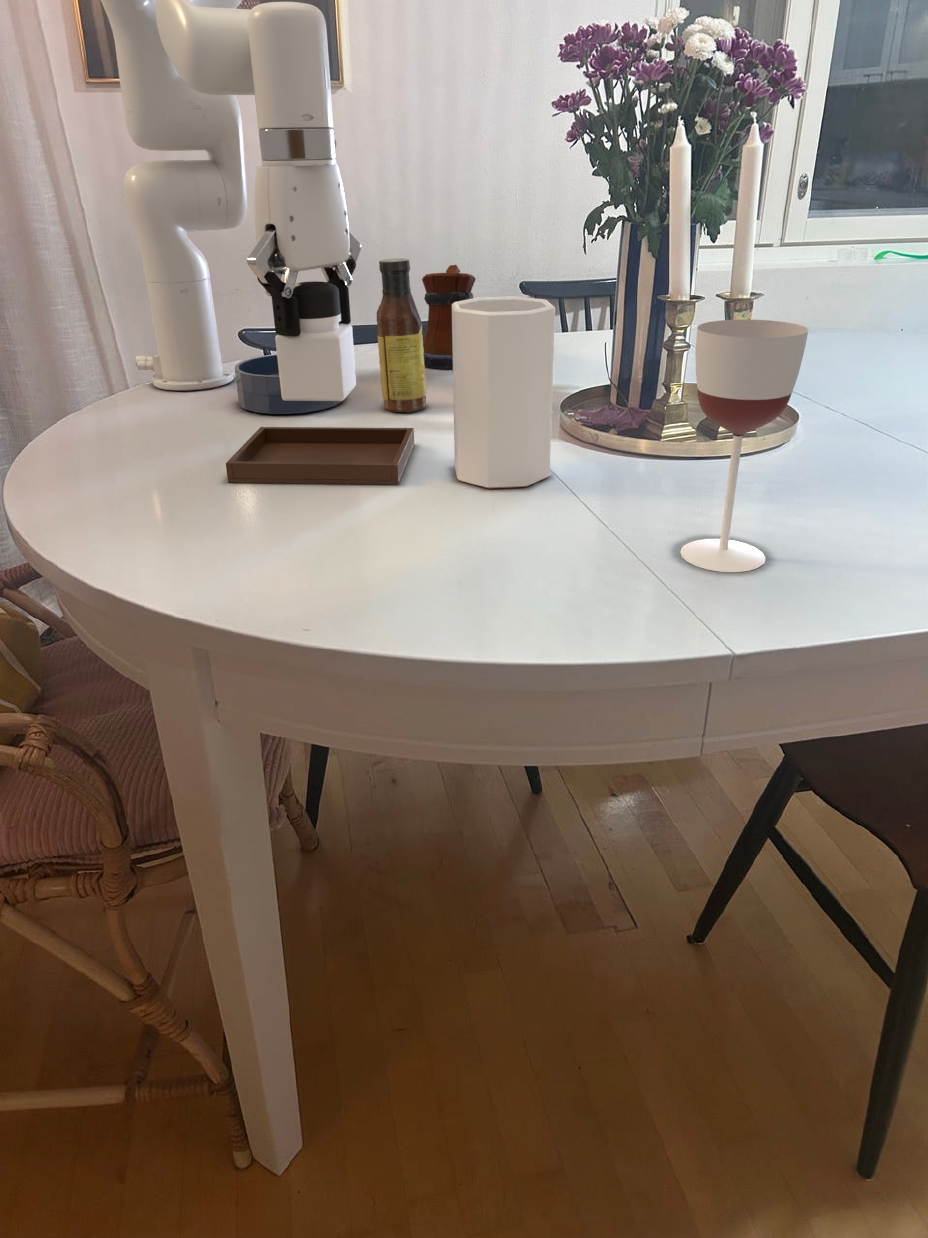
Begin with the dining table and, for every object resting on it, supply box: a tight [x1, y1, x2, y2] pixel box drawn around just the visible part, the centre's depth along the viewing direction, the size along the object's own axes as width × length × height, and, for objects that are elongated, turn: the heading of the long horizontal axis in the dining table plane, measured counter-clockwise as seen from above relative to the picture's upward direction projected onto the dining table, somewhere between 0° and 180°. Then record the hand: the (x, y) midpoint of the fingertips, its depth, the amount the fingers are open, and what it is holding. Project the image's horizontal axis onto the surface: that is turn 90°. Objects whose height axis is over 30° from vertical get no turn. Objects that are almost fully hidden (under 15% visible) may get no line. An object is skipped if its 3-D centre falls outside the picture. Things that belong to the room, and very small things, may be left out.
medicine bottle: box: [274, 280, 357, 402], centre depth 101 cm, size 7×7×12 cm
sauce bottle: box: [375, 257, 427, 413], centre depth 124 cm, size 7×6×20 cm
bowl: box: [234, 353, 343, 415], centre depth 132 cm, size 15×15×6 cm
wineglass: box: [679, 319, 809, 573], centre depth 78 cm, size 8×9×20 cm
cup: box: [452, 295, 556, 490], centre depth 99 cm, size 11×11×18 cm
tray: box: [225, 426, 415, 486], centre depth 107 cm, size 19×14×2 cm
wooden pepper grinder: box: [421, 264, 476, 370], centre depth 154 cm, size 18×12×15 cm, turn 177°
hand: (314, 327), depth 100 cm, fingers closed on medicine bottle, 7 cm apart
